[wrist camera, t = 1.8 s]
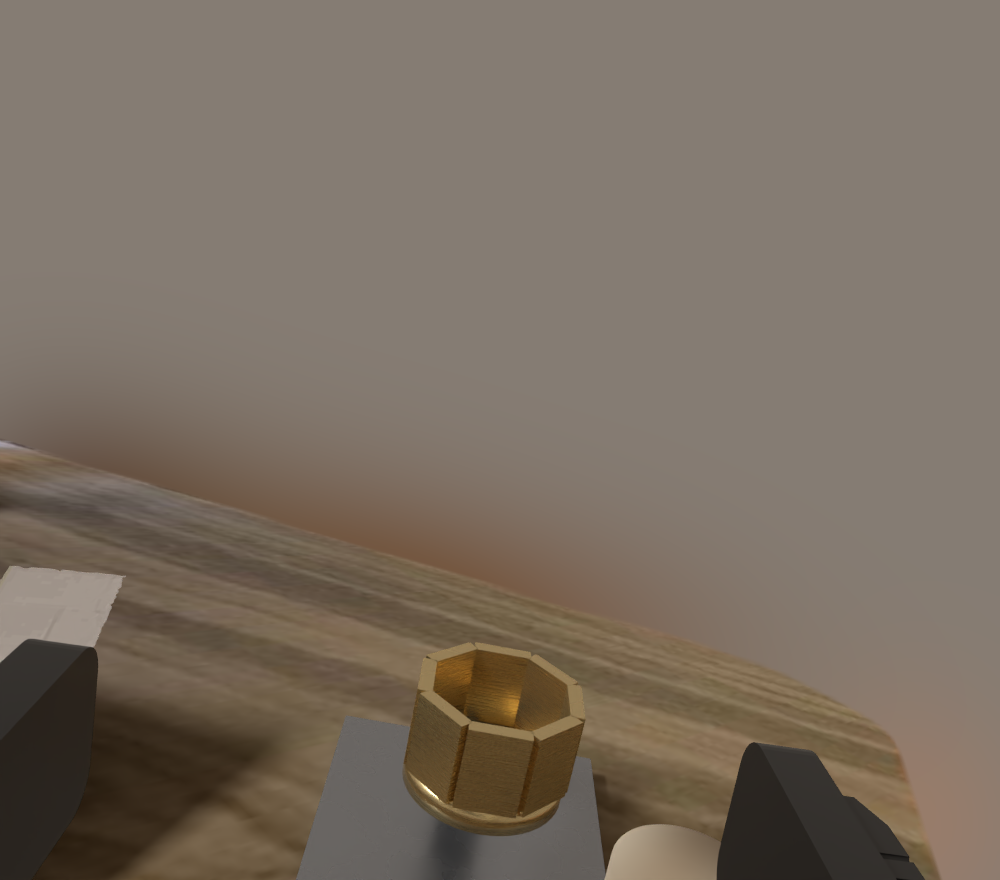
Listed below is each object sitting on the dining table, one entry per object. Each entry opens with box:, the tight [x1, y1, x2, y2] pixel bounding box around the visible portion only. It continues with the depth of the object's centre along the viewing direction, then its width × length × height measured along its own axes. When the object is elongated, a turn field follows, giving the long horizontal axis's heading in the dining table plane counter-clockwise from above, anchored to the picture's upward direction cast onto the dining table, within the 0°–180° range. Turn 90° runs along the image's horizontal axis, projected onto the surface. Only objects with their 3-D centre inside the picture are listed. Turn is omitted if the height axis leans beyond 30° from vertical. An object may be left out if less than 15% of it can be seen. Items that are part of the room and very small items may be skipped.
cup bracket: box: [296, 642, 606, 880], centre depth 44 cm, size 17×14×12 cm
